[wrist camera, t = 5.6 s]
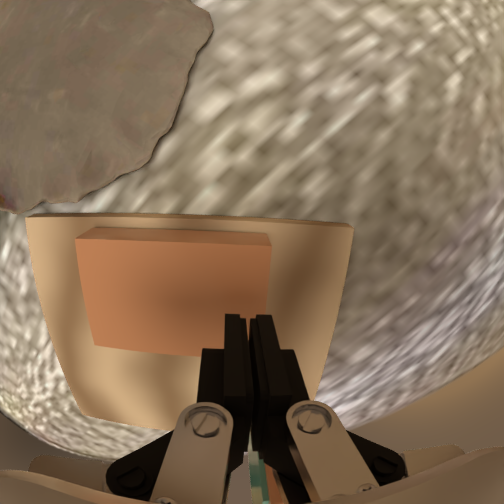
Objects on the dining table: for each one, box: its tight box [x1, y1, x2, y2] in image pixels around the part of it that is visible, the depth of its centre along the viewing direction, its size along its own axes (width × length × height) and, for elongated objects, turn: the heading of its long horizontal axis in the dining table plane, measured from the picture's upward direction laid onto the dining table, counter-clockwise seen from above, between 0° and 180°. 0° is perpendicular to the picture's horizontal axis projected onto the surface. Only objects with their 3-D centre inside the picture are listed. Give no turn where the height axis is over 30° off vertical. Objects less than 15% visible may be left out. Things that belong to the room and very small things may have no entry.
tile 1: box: [75, 228, 272, 357], centre depth 14 cm, size 2×6×9 cm
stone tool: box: [0, 0, 213, 214], centre depth 9 cm, size 20×3×25 cm
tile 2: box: [248, 433, 284, 504], centre depth 14 cm, size 2×6×9 cm, turn 176°
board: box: [25, 213, 354, 431], centre depth 17 cm, size 19×17×1 cm
